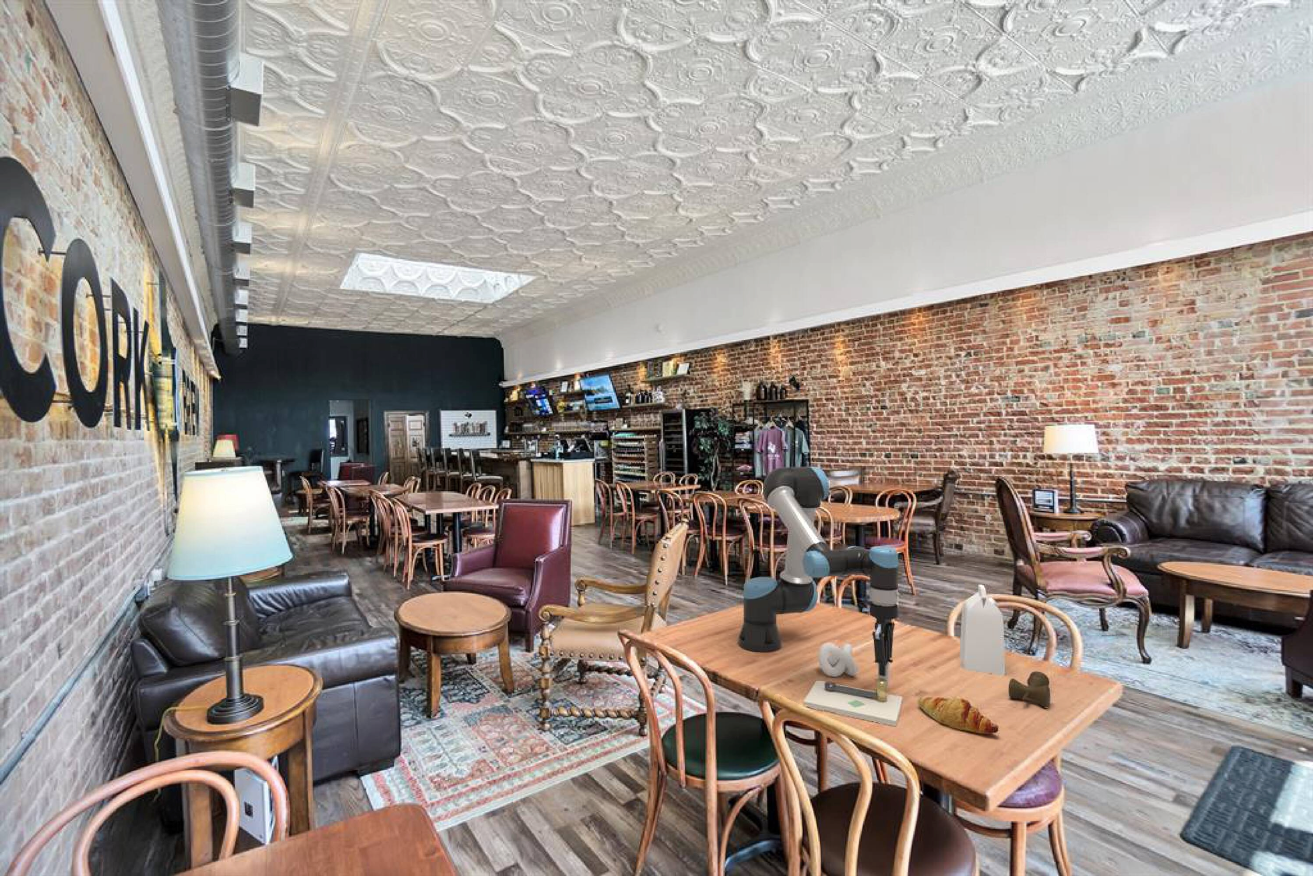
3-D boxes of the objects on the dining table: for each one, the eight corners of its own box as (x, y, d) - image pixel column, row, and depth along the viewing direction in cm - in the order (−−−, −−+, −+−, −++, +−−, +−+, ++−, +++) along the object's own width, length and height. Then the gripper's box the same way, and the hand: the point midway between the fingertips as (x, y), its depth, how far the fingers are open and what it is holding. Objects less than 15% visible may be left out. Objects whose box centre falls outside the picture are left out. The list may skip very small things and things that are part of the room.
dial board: (803, 706, 165) (803, 701, 165) (816, 685, 179) (816, 680, 179) (896, 726, 154) (896, 720, 154) (902, 702, 168) (902, 696, 168)
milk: (959, 657, 202) (960, 580, 201) (998, 662, 198) (998, 584, 197) (964, 670, 190) (964, 589, 190) (1005, 676, 186) (1005, 593, 186)
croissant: (912, 722, 163) (904, 700, 161) (929, 697, 169) (922, 675, 167) (993, 754, 146) (986, 730, 144) (1009, 724, 152) (1002, 701, 150)
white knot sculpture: (823, 663, 197) (823, 636, 197) (861, 669, 191) (861, 642, 191) (815, 675, 187) (816, 647, 187) (855, 683, 181) (855, 653, 181)
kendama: (1059, 694, 175) (1044, 715, 160) (1021, 685, 181) (1004, 705, 167) (1058, 673, 175) (1043, 693, 160) (1021, 665, 182) (1003, 683, 167)
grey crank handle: (823, 689, 172) (823, 672, 172) (825, 685, 175) (825, 668, 175) (886, 701, 164) (886, 683, 164) (887, 697, 167) (888, 679, 167)
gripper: (890, 610, 161) (890, 697, 161) (904, 599, 171) (903, 681, 171) (862, 605, 165) (862, 690, 165) (877, 595, 176) (877, 675, 176)
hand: (883, 685), depth 168 cm, fingers closed
